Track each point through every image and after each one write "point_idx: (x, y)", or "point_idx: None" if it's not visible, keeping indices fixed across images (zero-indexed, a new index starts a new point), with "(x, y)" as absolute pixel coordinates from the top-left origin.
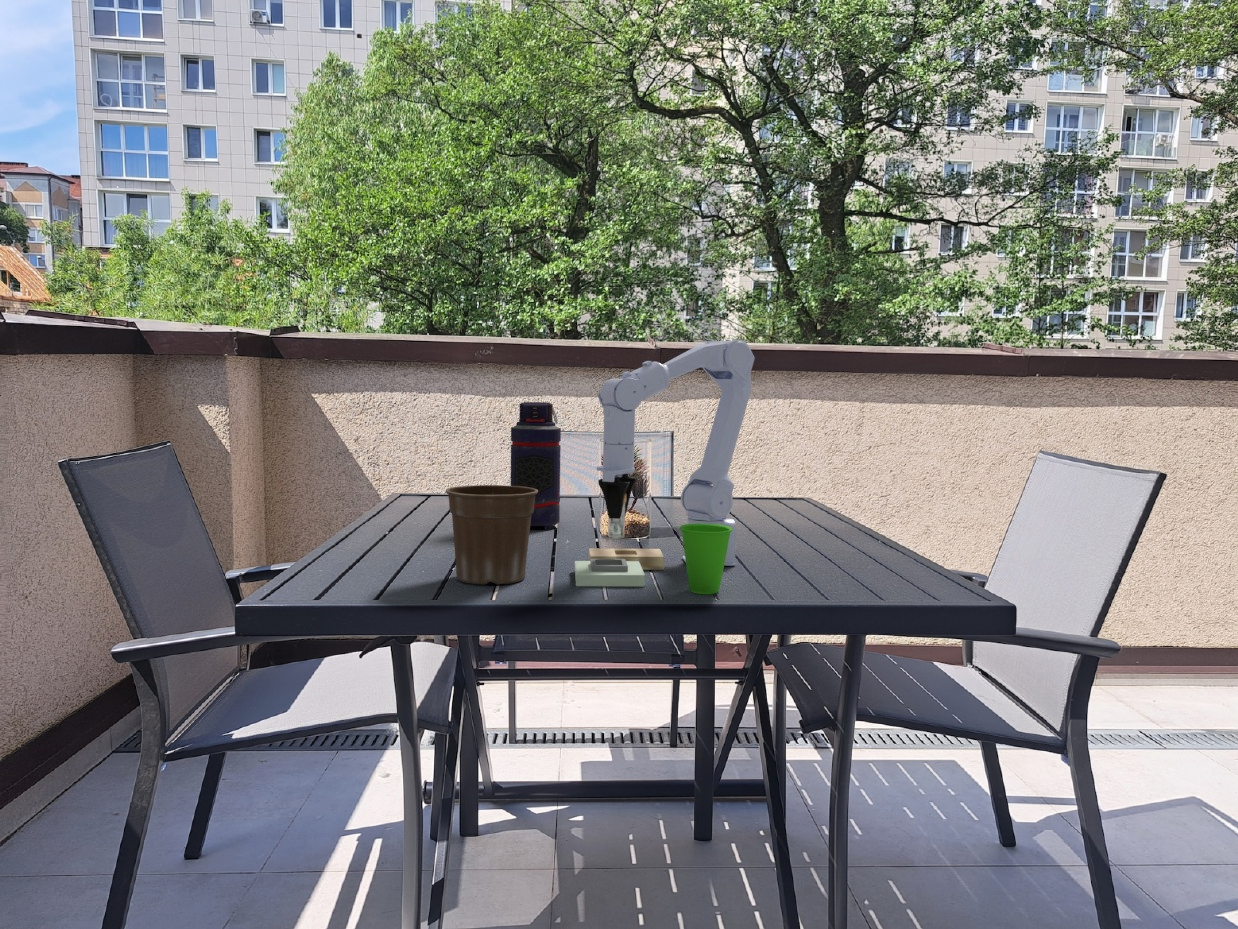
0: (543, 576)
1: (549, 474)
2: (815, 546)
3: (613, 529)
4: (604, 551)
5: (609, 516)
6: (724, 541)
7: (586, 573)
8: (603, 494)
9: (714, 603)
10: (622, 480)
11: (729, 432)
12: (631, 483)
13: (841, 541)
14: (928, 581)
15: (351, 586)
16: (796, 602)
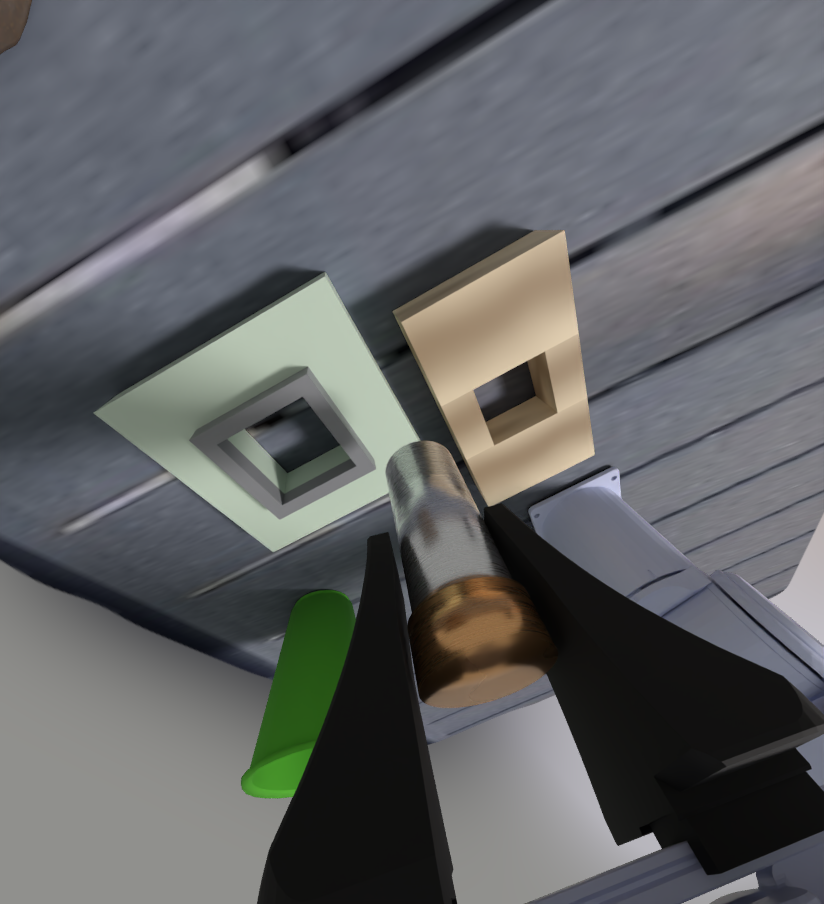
0: (141, 170)
1: None
2: (726, 571)
3: (390, 498)
4: (514, 327)
5: (368, 548)
6: (308, 756)
7: (149, 431)
8: (334, 699)
9: (243, 647)
10: (629, 794)
11: None
12: (593, 780)
13: (760, 578)
14: (516, 695)
15: None
16: None
